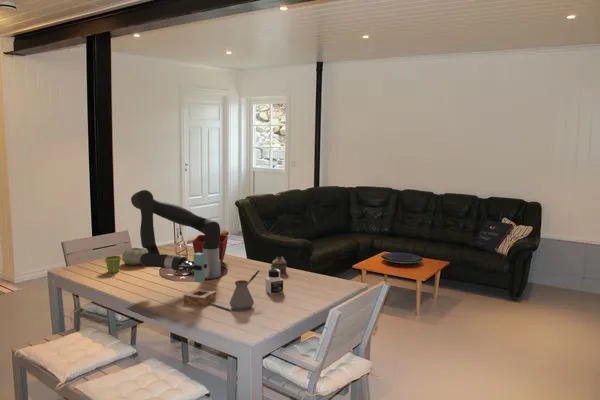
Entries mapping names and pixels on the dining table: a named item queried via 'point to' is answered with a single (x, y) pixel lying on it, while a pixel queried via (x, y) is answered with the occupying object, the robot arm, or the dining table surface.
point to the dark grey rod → (219, 306)
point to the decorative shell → (133, 256)
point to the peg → (199, 261)
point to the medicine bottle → (274, 282)
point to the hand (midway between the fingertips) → (203, 267)
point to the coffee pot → (242, 295)
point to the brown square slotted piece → (199, 297)
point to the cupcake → (279, 265)
